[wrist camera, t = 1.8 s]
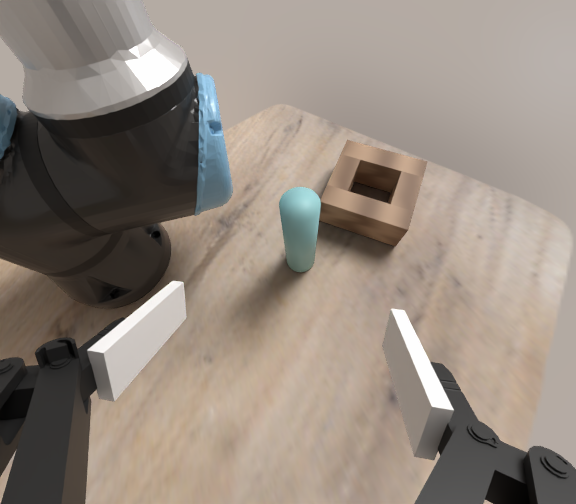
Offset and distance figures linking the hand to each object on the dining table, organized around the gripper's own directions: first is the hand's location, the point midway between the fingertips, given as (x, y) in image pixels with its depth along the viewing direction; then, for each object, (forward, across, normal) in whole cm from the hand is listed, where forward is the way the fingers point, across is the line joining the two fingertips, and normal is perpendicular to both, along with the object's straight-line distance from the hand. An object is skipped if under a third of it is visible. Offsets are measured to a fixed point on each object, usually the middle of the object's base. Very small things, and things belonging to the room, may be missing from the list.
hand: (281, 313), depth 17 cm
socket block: (+29, +9, +3) cm, 30 cm away
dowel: (+21, 0, -5) cm, 22 cm away
